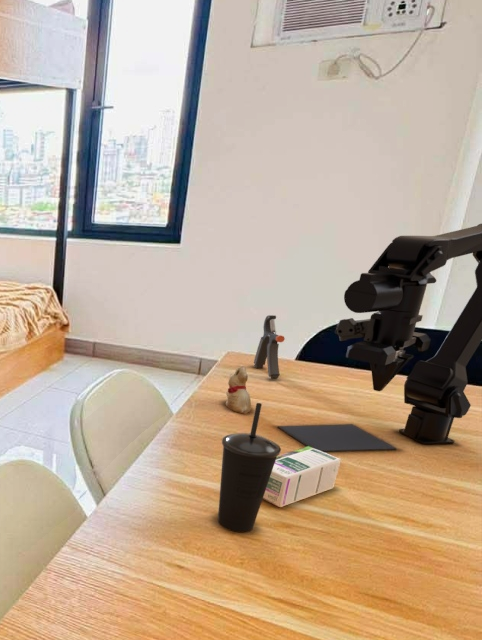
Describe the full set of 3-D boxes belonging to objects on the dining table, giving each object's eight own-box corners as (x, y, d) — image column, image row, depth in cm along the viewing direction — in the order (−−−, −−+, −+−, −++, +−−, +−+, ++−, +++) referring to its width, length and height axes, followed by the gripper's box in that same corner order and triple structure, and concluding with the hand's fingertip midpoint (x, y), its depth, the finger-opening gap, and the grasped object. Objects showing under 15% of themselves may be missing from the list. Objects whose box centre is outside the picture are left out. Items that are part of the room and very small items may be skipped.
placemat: (351, 425, 132) (352, 424, 132) (396, 449, 121) (396, 448, 121) (277, 427, 132) (277, 426, 132) (315, 452, 120) (315, 450, 120)
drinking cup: (258, 515, 99) (283, 397, 92) (267, 541, 92) (295, 416, 86) (205, 508, 102) (226, 392, 95) (210, 532, 95) (233, 410, 88)
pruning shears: (270, 381, 159) (281, 323, 154) (252, 366, 171) (262, 312, 166) (279, 381, 159) (291, 323, 154) (261, 366, 171) (271, 312, 165)
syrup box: (342, 458, 105) (286, 475, 99) (334, 489, 107) (278, 508, 101) (308, 445, 110) (253, 461, 104) (301, 475, 112) (246, 492, 106)
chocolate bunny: (252, 403, 145) (260, 362, 141) (249, 414, 138) (257, 372, 135) (225, 399, 147) (232, 359, 144) (221, 410, 141) (228, 368, 138)
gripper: (372, 295, 123) (353, 370, 129) (324, 307, 114) (306, 387, 119) (442, 305, 114) (418, 385, 120) (396, 319, 105) (372, 405, 110)
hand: (377, 390), depth 117 cm, fingers closed
